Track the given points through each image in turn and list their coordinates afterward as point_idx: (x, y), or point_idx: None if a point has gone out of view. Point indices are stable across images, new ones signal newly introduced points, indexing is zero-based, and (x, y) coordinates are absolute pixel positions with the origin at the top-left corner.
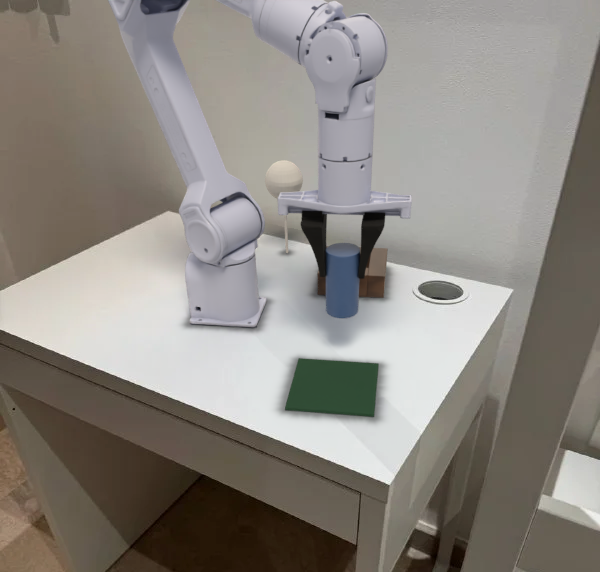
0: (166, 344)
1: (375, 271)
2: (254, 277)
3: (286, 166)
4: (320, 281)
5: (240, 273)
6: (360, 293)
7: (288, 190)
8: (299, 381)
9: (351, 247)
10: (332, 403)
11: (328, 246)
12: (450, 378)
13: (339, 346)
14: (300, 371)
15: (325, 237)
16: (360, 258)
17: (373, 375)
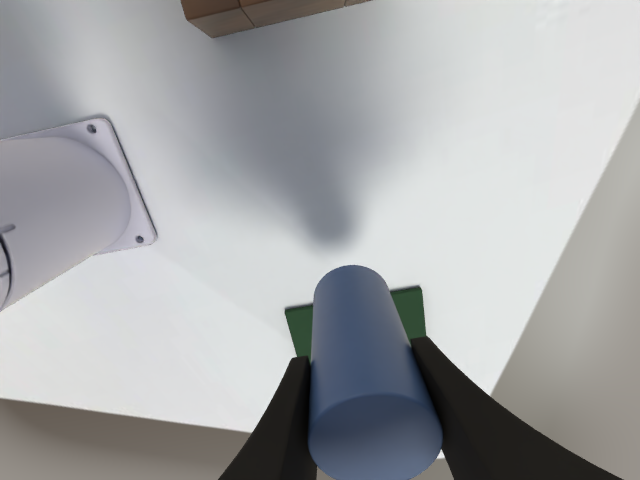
0: (50, 327)
1: None
2: (64, 225)
3: None
4: (205, 25)
5: (33, 285)
6: (326, 7)
7: None
8: (310, 363)
9: (404, 425)
10: None
11: (311, 437)
12: (542, 285)
13: (339, 250)
14: (301, 342)
15: (294, 469)
16: (446, 457)
17: (418, 322)
